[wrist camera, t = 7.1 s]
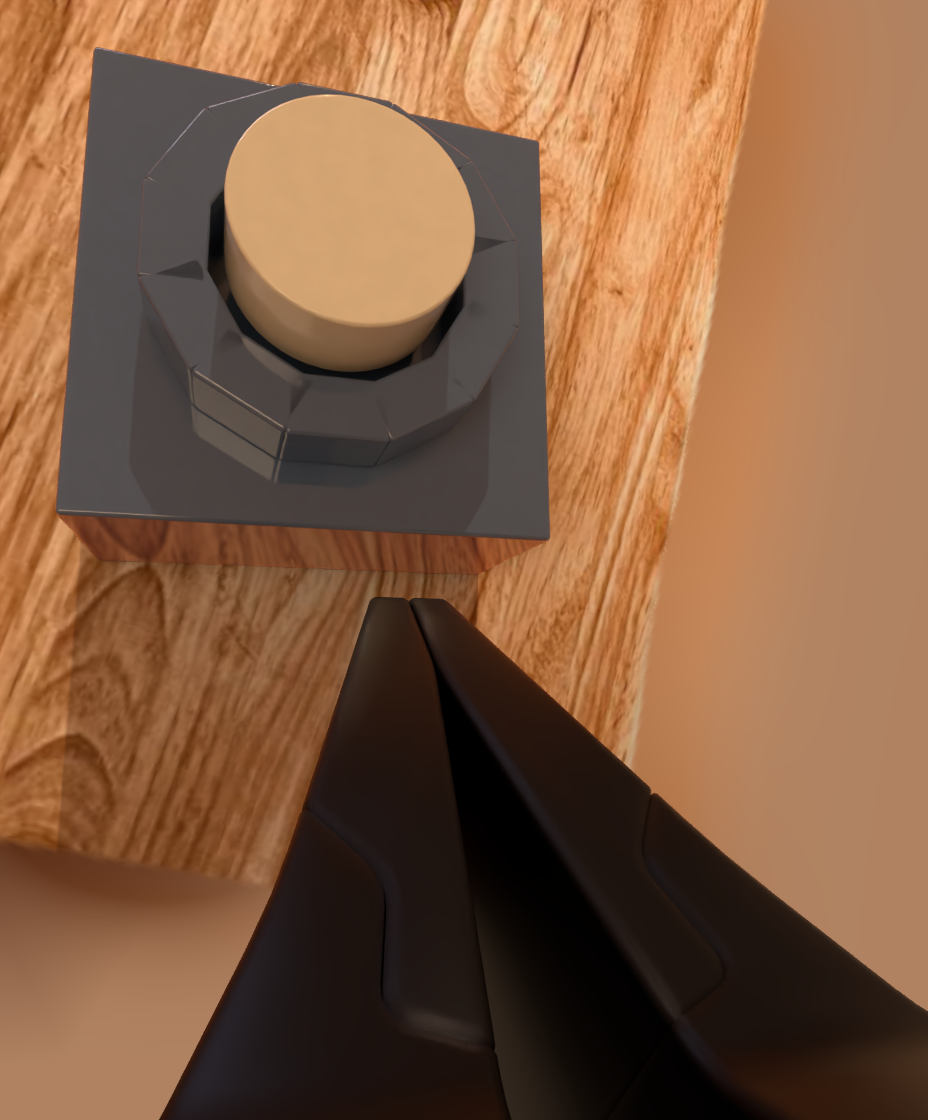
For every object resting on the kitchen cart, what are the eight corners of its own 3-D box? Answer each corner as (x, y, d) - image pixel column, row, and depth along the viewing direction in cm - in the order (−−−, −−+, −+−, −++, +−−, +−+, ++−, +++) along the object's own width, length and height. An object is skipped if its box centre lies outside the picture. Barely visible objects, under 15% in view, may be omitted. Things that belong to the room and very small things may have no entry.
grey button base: (479, 575, 22) (587, 523, 16) (96, 560, 19) (32, 489, 13) (475, 253, 24) (571, 84, 17) (122, 195, 21) (78, -33, 15)
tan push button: (446, 385, 16) (478, 341, 14) (218, 359, 15) (218, 307, 13) (445, 188, 17) (475, 120, 15) (228, 147, 15) (229, 67, 13)
